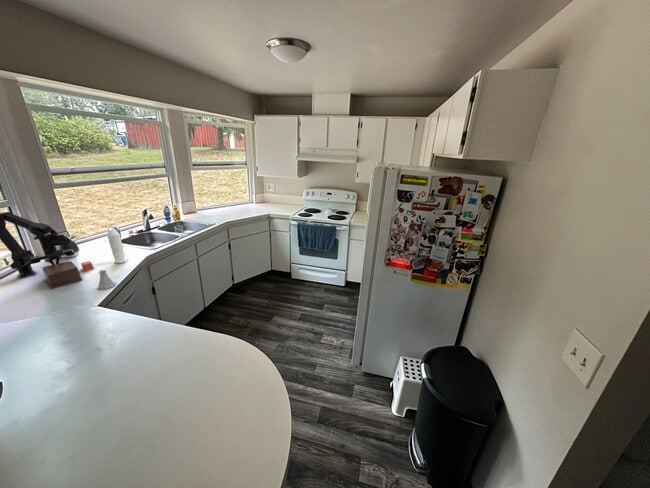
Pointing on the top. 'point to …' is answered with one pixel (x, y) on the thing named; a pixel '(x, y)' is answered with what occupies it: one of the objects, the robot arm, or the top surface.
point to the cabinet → (61, 274)
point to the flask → (105, 280)
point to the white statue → (116, 246)
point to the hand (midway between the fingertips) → (57, 268)
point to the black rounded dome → (71, 247)
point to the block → (87, 266)
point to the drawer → (56, 264)
